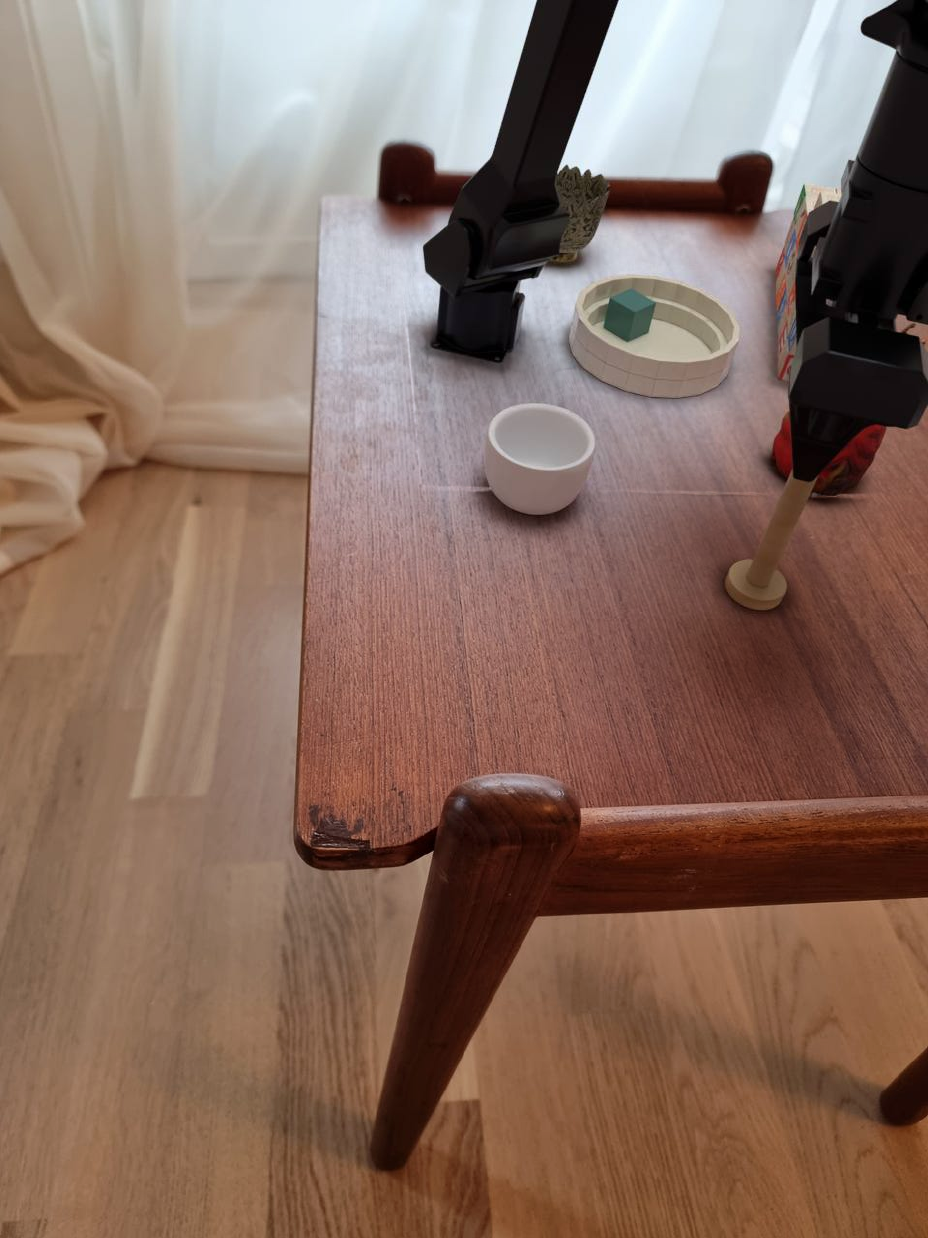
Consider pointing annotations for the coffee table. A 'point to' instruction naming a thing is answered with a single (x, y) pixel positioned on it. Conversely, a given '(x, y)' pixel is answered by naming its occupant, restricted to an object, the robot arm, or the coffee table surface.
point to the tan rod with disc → (769, 553)
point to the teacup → (538, 457)
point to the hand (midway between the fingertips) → (803, 433)
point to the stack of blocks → (786, 270)
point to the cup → (579, 210)
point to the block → (629, 315)
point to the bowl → (656, 338)
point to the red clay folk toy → (845, 464)
